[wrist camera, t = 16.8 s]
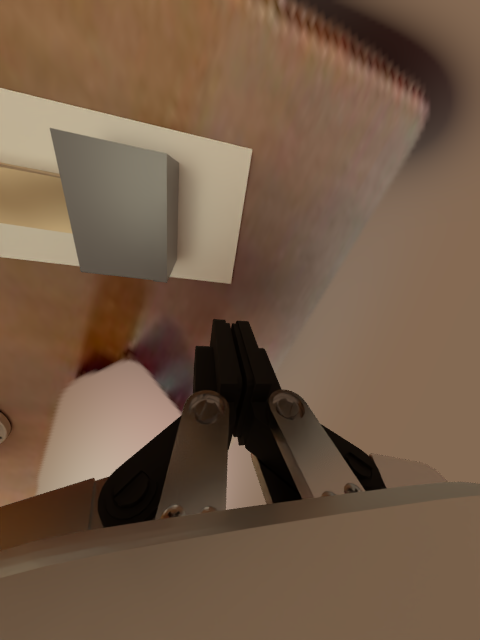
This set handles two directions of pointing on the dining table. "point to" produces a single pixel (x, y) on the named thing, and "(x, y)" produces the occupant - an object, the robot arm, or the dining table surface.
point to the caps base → (189, 150)
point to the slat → (32, 199)
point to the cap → (119, 205)
